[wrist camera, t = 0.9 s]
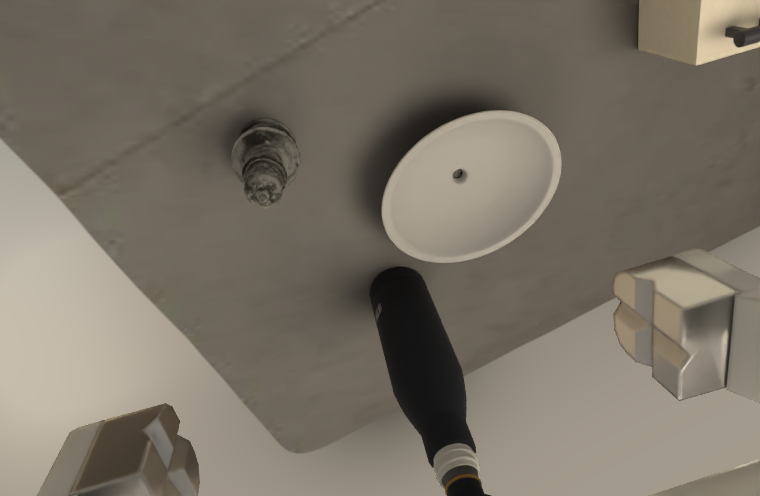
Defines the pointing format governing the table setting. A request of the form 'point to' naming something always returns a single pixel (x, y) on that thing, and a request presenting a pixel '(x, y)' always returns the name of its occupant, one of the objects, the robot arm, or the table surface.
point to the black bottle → (426, 377)
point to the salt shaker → (265, 161)
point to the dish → (471, 186)
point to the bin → (698, 28)
